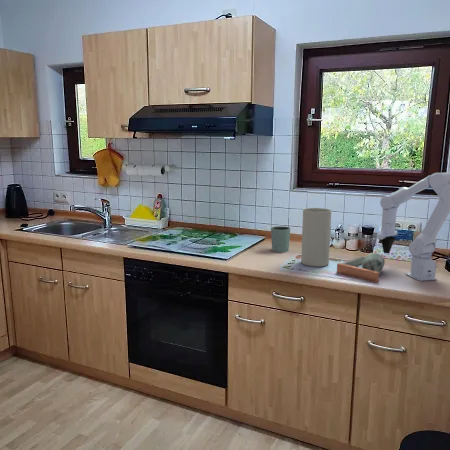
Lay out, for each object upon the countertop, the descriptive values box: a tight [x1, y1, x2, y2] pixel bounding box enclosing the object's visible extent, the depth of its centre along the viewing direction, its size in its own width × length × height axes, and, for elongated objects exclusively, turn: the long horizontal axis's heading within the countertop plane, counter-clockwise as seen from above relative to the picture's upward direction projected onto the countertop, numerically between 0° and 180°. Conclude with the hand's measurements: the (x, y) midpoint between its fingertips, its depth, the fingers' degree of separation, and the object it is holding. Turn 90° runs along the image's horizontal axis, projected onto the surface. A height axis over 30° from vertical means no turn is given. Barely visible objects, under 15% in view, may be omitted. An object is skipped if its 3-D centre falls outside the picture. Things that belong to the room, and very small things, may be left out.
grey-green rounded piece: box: [361, 252, 386, 275], centre depth 179 cm, size 14×10×10 cm
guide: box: [336, 256, 380, 284], centre depth 180 cm, size 23×19×4 cm
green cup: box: [270, 225, 291, 253], centre depth 217 cm, size 10×10×12 cm
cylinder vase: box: [300, 207, 332, 268], centre depth 191 cm, size 12×12×25 cm
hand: (386, 252), depth 187 cm, fingers closed
